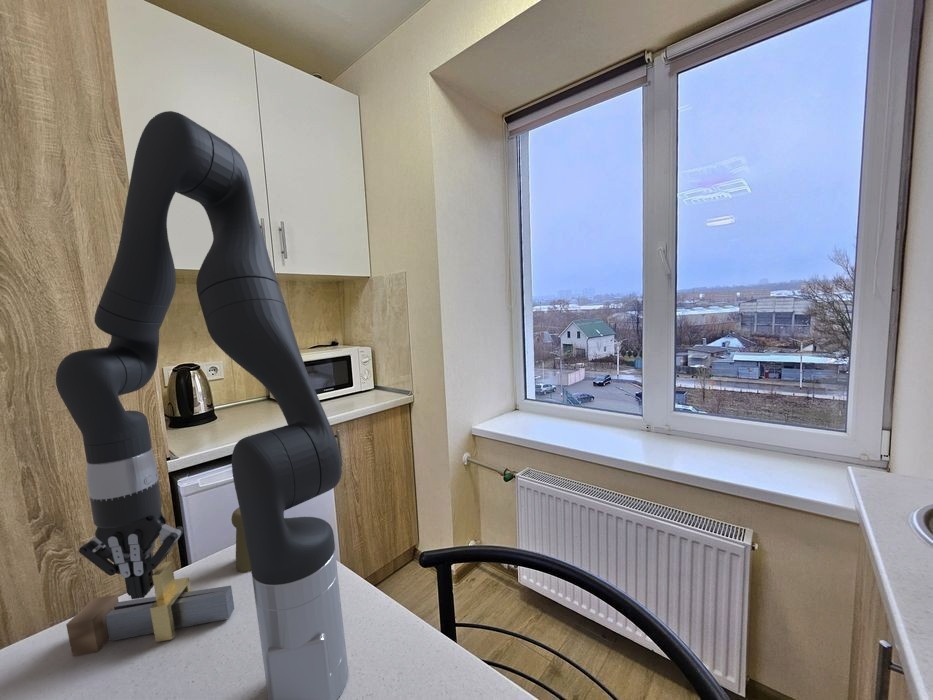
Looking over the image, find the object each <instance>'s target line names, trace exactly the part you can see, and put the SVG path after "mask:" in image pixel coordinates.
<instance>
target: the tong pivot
mask: <svg viewBox="0 0 933 700" xmlns="http://www.w3.org/2000/svg"><path fill="white" fill-rule="evenodd" d="M118 596H119V595H118V594H112V595H105V596H101V597H100V596H99V597H94V598H93V599H91V601H89V602H88V603H87V604H86V605H85V606H84V607H83V608H82V609H81V610H80V611H79V612H78V613H77V614H75V615H74V616H73V618H72V619H70V620H69V621H68V622H67V623H66V624H65V625H66V631H67V636H68V639H69V640H68V641H69V644H70V650H71V656H72V657H77V656H82V655H83V656H84V655H88V654H94V653H99V652H100V650H101V649H102V648H103V647H104V646H105V645H106V644H107V642H108V641H110V639H109V634H108V629H107V623H106V618H105V616H106V615H107V614H108V613H109V612H110V611H112V610H114V606H115V605H116V604H117V603H118V602H120V601H119V597H118Z"/></svg>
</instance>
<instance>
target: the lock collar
mask: <svg viewBox="0 0 933 700" xmlns="http://www.w3.org/2000/svg"><path fill="white" fill-rule="evenodd" d="M152 577H153V583H154V586H153V588H154V593H155V597H156V602H155V603H154V604H153V605H152V606H151V608H150V611H151V617H152V623H153V628H154V633H153V634H154V639H155V643H158V642H164V641H169V640H173V639H174V637H175V636H177V635H176V629H175V627H174V621H173V615H172V609H171V606H172V604H173V603H174V602H175V600H176V599H177V598H178V597H179V595H180V594H181V593H183V592H190V591H192V588H191V587H192V586H191V579H190V577H188V576H187V577H182V578H175V573H174V567H173V561H172V560H170V561H165V562H163V563H162V564H161V565H160V566H159V568H158V569H157V570H155V572H153V575H152Z"/></svg>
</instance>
